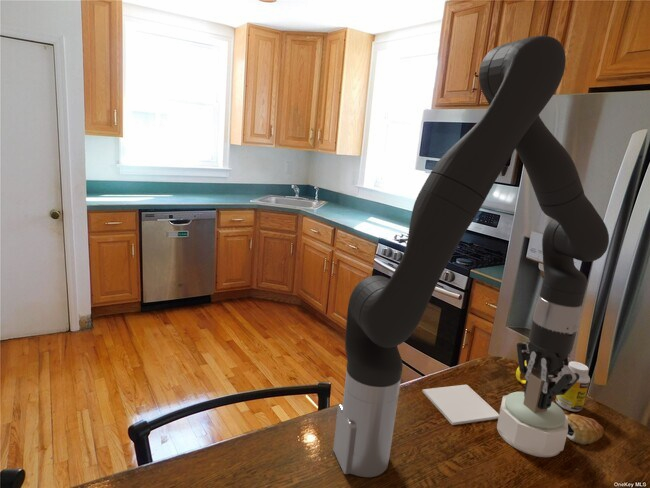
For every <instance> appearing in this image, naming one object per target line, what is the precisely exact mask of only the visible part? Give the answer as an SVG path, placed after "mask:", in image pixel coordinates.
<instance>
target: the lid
mask: <svg viewBox="0 0 650 488" xmlns="http://www.w3.org/2000/svg"><path fill="white" fill-rule="evenodd" d="M550 383H551V382H550ZM542 384H543V381H542V380H541V372H535V373H530V374H529V379H528V384H527V388H526V393H524V391H515V392H511V393H508V394H506V395H507V397H506V400H505V406H506V408H507V410H508V411H509V412H510V413H511V414H512V415H513V416H514V417H516V418H517V419H519V420H520V421H522V422H524V423H526V424H529V425H531V426H534V427H538V428H543V429H556V428H559V427H561V426H563V424H564V422H565V414H566V413H565V412H564V410H563V408H562V407H561V406H560V405H558V404H557V403H555V402H554V401H552V403H551V406H550V407H549V408H547V409H542V410H541V409H539V408H538V402H539V398H540V394H541V391H542ZM549 386H550V384H549ZM524 394H525V396H524Z"/></svg>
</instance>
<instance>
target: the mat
mask: <svg viewBox="0 0 650 488" xmlns="http://www.w3.org/2000/svg"><path fill="white" fill-rule="evenodd" d="M422 393H423V394H424V395H425V396H426V398H427V399H428V400H429V401H430V402H431V404H433V406H434V407H435V408H436V409H437V410H438V411H439V412H440V413H441V414H442V415H443V416H444V417H445V419H446V420H447V422H449V423H450V424H451V426H455V425H463V424H470V423H477V422H483V421H491V420H498V418H499V413H498V412H497V411H496V410H495V409H494V408H493V407H492V406H491V405H490V404H489V403H488V402H486V401H485V400H484V399H483V398H482V397H481V396H480V395H479V394H478V393H477V392H475V391H474V390H473V389H472V388H471V386H469V385H468V384H460V385H459V384H457V385H451V386H443V387H442V386H441V387H432V388H425V389H422Z"/></svg>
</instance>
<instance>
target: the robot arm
mask: <svg viewBox="0 0 650 488" xmlns="http://www.w3.org/2000/svg"><path fill="white" fill-rule="evenodd" d="M566 60H567V59H566V51H565V49H564V46H563V45H562V43H561V42H560V41H559V40H558V39H556V38H555V37H552V36H548V35H536V36H529V37H525V38H522V39H518V40H515V41H512V42H508V43H504V44H501V45H498V46H496V47H494V48H492V49H491V50H489V52H488V53H486V55H485V56H484V57H483V59H482V61H481V62H480V66H479V71H478V83H479V86H480V89H481V92H482V94H483V95H484V97H485V100H486V102H487V103H488V105H489V106H488V107H487V109H486V110H485V112H484V114H483V115H482V116H481V117H480V118H479V120H478V121H477V123H475V124H474V125H473V127H472V128H471V129H469V131H467V133H465V134H464V135H463V136H462V137H461V138H460V139H459V140H458V141H457V142H456V143H454V145H453V146H451V147H450V148H449V149H448V150H447V151H446V152H445V153H444V155H442V156H441V157H440V158H439V160H438V161H437V163H435V165H434V166H433V169H432V170H431V171H430V173H429V175H428V177H427V178H426V180H425V181H424V183H423V185H422V187H421V189H420V191H419V193H418V195H417V197H416V198H415V200H414V204H413V207H412V211H411V217H410V221H409V228H408V235H407V240H406V245H405V249H404V252H403V255H402V257H401V259H400V261H399V263H398V265H397V267H396V268H395V270H394V272H393V273H392V275H391V277H390V278H388V277H386V276H383V275H370V276H367V277H365V278H363V279H362V280H360V281H359V282H358V283H357V284H356V286H355V287H354V289H352V292H351V294H350V296H349V300H348V303H347V304H348V305H347V313H346V325H345V338H344V340H345V342H344V344H345V345H344V347H345V353H346V361H347V362H346V372H345V381H344V389H343V398H342V403H341V404H338V405H337V413H336V421H335V431H334V440H333V449H332V450H333V453H334V456H335V457H336V459H337V461H338V463H339V466H340V467H341V470H342V473H343V474H344V475H349V474H350V475H354V476H357V477H362V478H373V477H377V476H380V475H381V474H383V473H385V471H386V470H387V469H388V466H389V461H390V455H391V448H392V442H393V435H394V427H395V423H396V422H395V421H396V414H397V413H396V412H397V406H398V401H399V395H400V394H399V392H400V388H401V381H402V373H403V359H402V355H401V354H400V350H399V347H398V346H399V345H401V344H403V343H404V342H406V341H407V340H408V339H410V337H411V336H412V335H413V334H414V332H415V331H416V329H417V328H418V326H419V323H420V321H421V320H422V318H423V316H424V314H425V311H426V309H427V308H428V304H429V302H430V300H431V298H432V296H433V294H434V292H435V289H436V287H437V286H438V282H439V281H440V279H441V276H442V274H443V273H444V271H445V269H446V267H447V265H448V263H449V262H450V259H451V258H452V257H453V254H454V253H455V251H456V250H457V247H458V245H459V244H460V242H461V241H462V239H463V237H464V235H465V234H466V232H467V230H468V229H469V227H470V226H471V224H472V222H473V221H474V220H475V218H476V216H477V214H478V213H479V211H480V209H481V207H482V206H483V204H484V203H485V200H486V199H487V198H488V195H489V193H490V191H491V189H492V188H493V186H494V184H495V182H496V181H497V179H498V178H499V176H500V174H501V173H502V171H503V169H504V168H505V167H506V164H507V163H508V161H509V160H510V158H511V157H512V155H513V154H514V151H516V152H517V153H516V154H518V156H519V158H520V161H521V162H522V164H523V167H524V169H525V171H526V173H527V175H528V178H529V181H530V183H531V187H532V188H533V191H534V194H535V196H536V200H537V203H538V204H539V207H540V209H541V211H542V212H543V213H544V215H546V216H547V217H549V218H551V220H550V221H549V223H547V225H546V227H545V229H544V231H543V234H542V240H541V241H542V242H541V248H542V265H543V266H542V268H543V279H542V283H541V288H540V292H539V296H538V300H537V302H536V305H535V307H534V312H533V316H532V317H533V318H532V321H531V326H530V330H529V335H528V340H529V342H528V341H527V342H524V341H523V342H517V343H516V350H517V359H518V367H519V370H520V372H521V374H524V378H525V380H526V383H525V384H524V388H523V392H524V393H526V388H527V384H528V379H529V374H530V373H535V372H541V380H542V381H543V384H542V391H541V394H540V398H539V402H538V408H539V409H541V410H542V409H547V408H549V407H550V406H551V403H552V402H553V399H554V397H556V395H564V394H565V393H566V392H567V391H568V390H569V389H570V388H571V387H572V386H573V385H574V384H575V383H576V382H577V381H578V380H579V375H578V374H577V373H573V372H572V371H571V370H570V368H569V367H568V364H569V362H570V361H569V355H570V354H571V352H572V351H573V347H574V344H575V340H576V336H577V332H578V328H579V324H580V321H581V316H582V315H581V314H582V305H583V301H584V298H585V294H586V290H587V284H588V279H587V277H586V275H585V274H584V273H583V272H581V270H579V269H578V268H577V267H576V265H575V262H574V260H577V261H580V262H585V263H587V262H594V261H597V260H599V259H601V258H602V257H603V256H604V254H605V253H606V252H607V250H608V248H609V243H610V234H609V231H608V228H607V225H606V223H605V222H604V220H603V217H601V215H600V214H599V212H598V211H597V209H596V208H595V206H594V205H593V204H592V203H591V201H590V200H589V199H588V197H587V196H586V194H585V191H584V187H583V184H582V181H581V177H580V175H579V172H578V170H577V165H575V162H574V160H573V158H572V157H571V155H570V153H568V151H567V150H566V149H565V147H564V146H563V145H562V143H561V142H559V140H558V139H557V137H556V136H555V135H554V134H553V133H552V132H551V130H550V129H549V128H548V127H547V126H546V124H545V122H544V121H543V120H542V118H541V117H540V114H541V112H542V111H543V110H544V108H545V107H546V106H547V105H548V103H549V102H550V100H551V99H552V97H553V96H554V94H555V93H556V91H557V89H558V88H559V86H560V84H561V82H562V80H563V76H564V75H565V69H566ZM525 360H526V364H527V366H525ZM550 382H551V383H550ZM549 384H550V386H549ZM524 396H525V394H524Z"/></svg>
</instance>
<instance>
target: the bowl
mask: <svg viewBox="0 0 650 488" xmlns="http://www.w3.org/2000/svg"><path fill="white" fill-rule="evenodd" d="M507 395H508V394H506V395H502V399H501V404H500V407H499V413H498V414H499V418H498V419H497V424H496V429H497V432H498V435H500V437H501V438H502V439H503V440H504V441H505V442H506V443H507V444H509V445H510V446H511V447H513V448H515V449H516V450H518V451H519V452H522V453H525V454H527V455H531V456H533V457H538V458H551V457H552V458H553V457H556V456H557V455H559V454H560V453H561V452H563V451H564V448H565V444H566V442H567V440H566V439H567V438H568V437H567V433H568V418H567V416H566V415H565V422H564V424H563V426H561V427H559V428H556V429H543V428H538V427H534V426H531V425H529V424H526V423H524V422H522V421H520V420H519V419H517V418H516V417H514V416H513V415H512V414H511V413H510V412H509V411H508V410H507V408H506V406H505V400H506V397H507Z"/></svg>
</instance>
